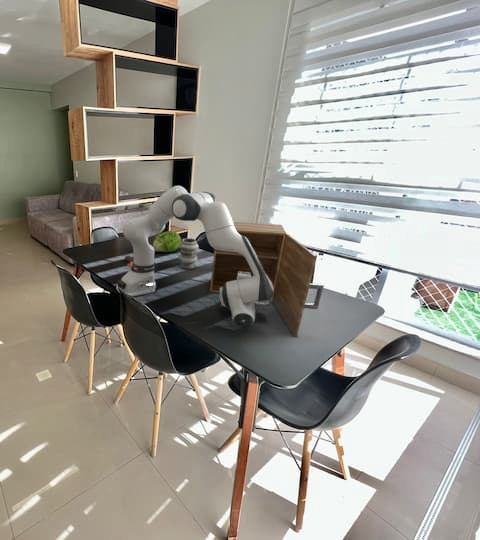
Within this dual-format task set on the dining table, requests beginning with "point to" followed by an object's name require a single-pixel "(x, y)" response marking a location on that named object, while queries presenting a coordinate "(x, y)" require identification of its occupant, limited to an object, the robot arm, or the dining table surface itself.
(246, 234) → the cabinet
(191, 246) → the ribbed grey vase
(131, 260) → the ice cream bar
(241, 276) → the syrup box
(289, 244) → the cabinet door
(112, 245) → the dining table surface
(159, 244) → the lettuce
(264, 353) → the dining table surface
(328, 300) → the dining table surface
